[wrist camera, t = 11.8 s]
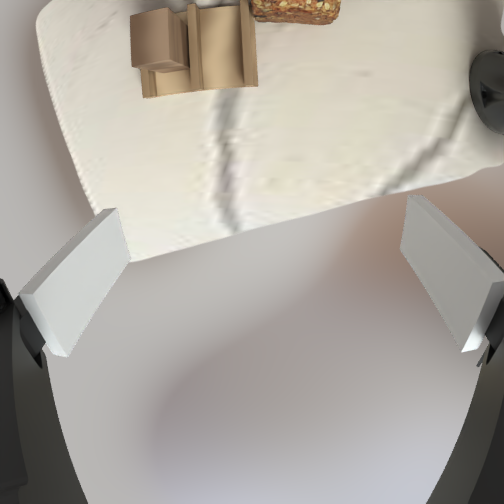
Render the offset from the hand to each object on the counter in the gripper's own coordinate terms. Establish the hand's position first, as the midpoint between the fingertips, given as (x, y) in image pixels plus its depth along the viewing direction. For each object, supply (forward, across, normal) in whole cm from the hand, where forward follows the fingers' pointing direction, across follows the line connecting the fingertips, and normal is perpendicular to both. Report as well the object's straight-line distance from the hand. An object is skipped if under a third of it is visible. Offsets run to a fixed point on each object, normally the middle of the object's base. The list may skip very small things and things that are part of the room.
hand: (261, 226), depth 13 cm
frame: (+29, -11, +13) cm, 33 cm away
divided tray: (+30, -8, +13) cm, 33 cm away
